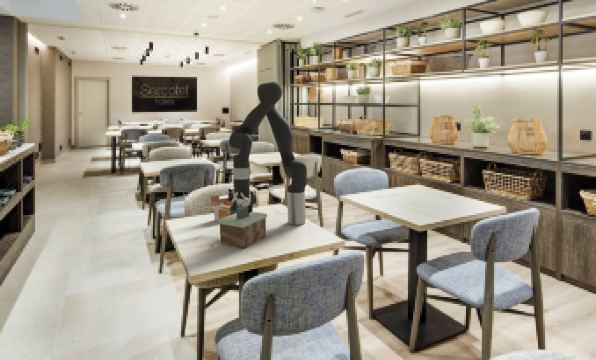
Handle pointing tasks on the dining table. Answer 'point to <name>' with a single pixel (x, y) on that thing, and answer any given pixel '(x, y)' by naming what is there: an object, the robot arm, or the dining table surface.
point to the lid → (242, 218)
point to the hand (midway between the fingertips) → (242, 211)
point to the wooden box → (242, 233)
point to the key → (218, 203)
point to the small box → (222, 213)
